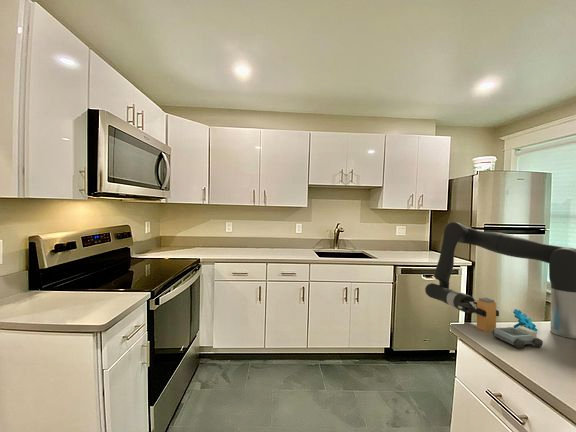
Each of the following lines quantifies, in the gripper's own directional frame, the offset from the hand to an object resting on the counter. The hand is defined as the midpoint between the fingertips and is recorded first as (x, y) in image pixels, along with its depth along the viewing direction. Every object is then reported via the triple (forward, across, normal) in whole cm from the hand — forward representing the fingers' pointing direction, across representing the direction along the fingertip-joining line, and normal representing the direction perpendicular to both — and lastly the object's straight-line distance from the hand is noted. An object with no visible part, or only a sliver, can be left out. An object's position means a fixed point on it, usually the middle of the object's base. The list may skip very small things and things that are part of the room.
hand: (491, 313), depth 114 cm
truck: (+9, +1, +7) cm, 12 cm away
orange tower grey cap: (-3, 0, +7) cm, 7 cm away
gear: (0, +15, +7) cm, 17 cm away
